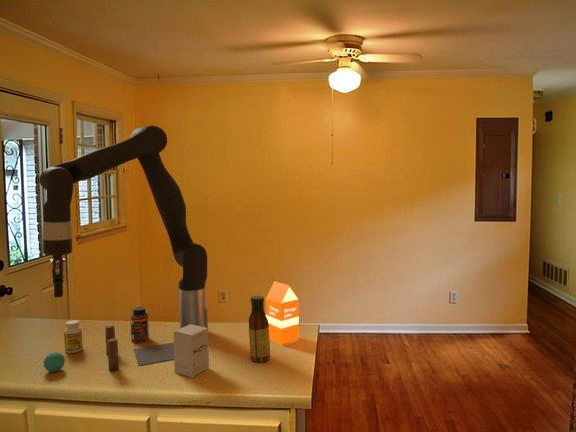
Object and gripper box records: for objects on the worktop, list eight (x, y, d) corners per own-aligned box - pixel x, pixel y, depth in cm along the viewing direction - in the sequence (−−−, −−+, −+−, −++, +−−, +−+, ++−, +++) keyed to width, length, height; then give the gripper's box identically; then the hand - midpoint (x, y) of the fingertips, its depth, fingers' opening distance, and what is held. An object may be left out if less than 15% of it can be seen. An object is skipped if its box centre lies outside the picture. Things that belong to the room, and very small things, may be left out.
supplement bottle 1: (81, 345, 155) (79, 318, 154) (84, 350, 151) (82, 322, 150) (63, 349, 152) (62, 321, 151) (66, 354, 148) (64, 325, 147)
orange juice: (281, 346, 154) (280, 287, 152) (265, 338, 161) (265, 282, 158) (299, 340, 159) (298, 283, 156) (283, 333, 165) (282, 279, 163)
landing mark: (176, 342, 157) (176, 341, 157) (185, 357, 145) (184, 357, 145) (133, 349, 152) (133, 348, 152) (138, 365, 139) (138, 365, 139)
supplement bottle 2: (132, 344, 156) (130, 311, 155) (130, 338, 162) (128, 307, 160) (150, 341, 159) (148, 309, 157) (147, 335, 164) (146, 304, 163)
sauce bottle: (273, 356, 145) (272, 295, 143) (265, 364, 139) (264, 300, 137) (254, 353, 147) (253, 293, 145) (246, 361, 142) (244, 298, 139)
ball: (65, 365, 140) (64, 347, 139) (65, 373, 135) (63, 354, 134) (44, 369, 137) (43, 351, 137) (43, 376, 132) (42, 358, 132)
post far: (115, 351, 150) (114, 324, 149) (116, 354, 148) (114, 327, 147) (106, 352, 149) (104, 326, 148) (106, 356, 146) (105, 328, 146)
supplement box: (192, 378, 131) (191, 335, 129) (173, 372, 135) (172, 330, 133) (210, 368, 137) (208, 327, 136) (191, 363, 141) (190, 323, 139)
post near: (118, 366, 138) (117, 338, 138) (119, 370, 136) (117, 341, 135) (108, 368, 137) (107, 339, 136) (109, 372, 135) (107, 342, 134)
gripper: (71, 239, 127) (72, 301, 129) (72, 234, 139) (73, 290, 141) (41, 240, 124) (42, 303, 126) (44, 234, 136) (45, 292, 138)
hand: (58, 296), depth 133 cm, fingers closed
